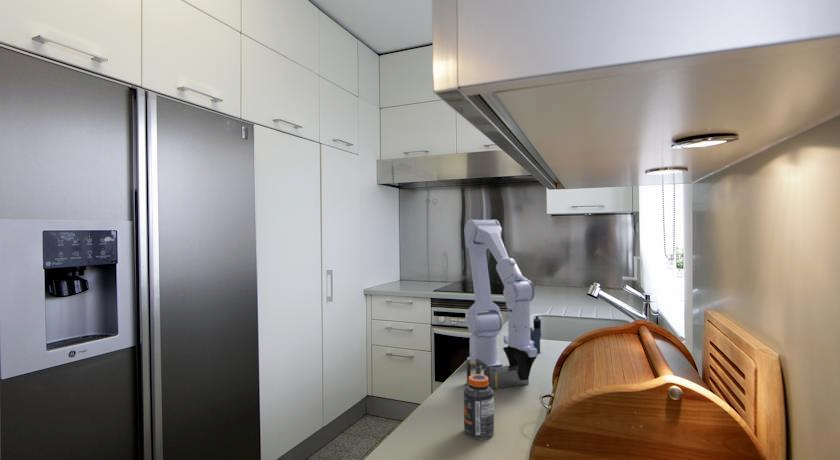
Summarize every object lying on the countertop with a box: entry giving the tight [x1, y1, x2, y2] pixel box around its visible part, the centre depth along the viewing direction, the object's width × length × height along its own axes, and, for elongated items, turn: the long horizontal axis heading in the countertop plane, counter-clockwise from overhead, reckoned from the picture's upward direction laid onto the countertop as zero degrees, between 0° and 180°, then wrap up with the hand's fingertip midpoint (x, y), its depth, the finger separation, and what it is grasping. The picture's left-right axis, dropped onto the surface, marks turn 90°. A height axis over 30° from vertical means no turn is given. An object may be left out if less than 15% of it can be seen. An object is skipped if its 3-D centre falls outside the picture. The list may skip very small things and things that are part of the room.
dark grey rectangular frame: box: [466, 359, 482, 385], centre depth 109 cm, size 7×1×7 cm, turn 16°
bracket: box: [476, 359, 491, 387], centre depth 110 cm, size 7×1×6 cm, turn 16°
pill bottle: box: [463, 373, 495, 440], centre depth 85 cm, size 6×6×11 cm
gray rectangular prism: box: [483, 365, 530, 390], centre depth 112 cm, size 4×11×4 cm, turn 106°
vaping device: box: [530, 315, 542, 354], centre depth 141 cm, size 3×5×12 cm, turn 78°
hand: (519, 376), depth 113 cm, fingers closed on gray rectangular prism, 4 cm apart
